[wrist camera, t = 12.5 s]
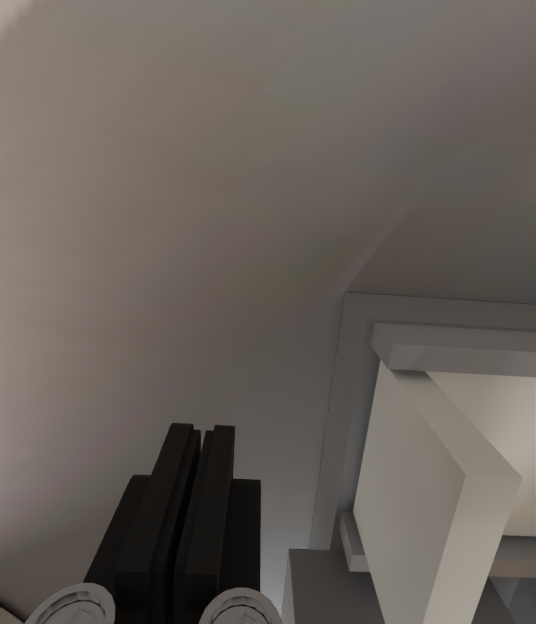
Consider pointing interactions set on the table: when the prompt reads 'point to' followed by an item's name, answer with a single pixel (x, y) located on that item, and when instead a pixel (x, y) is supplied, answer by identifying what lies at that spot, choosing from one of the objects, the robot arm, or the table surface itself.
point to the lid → (444, 487)
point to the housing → (352, 436)
